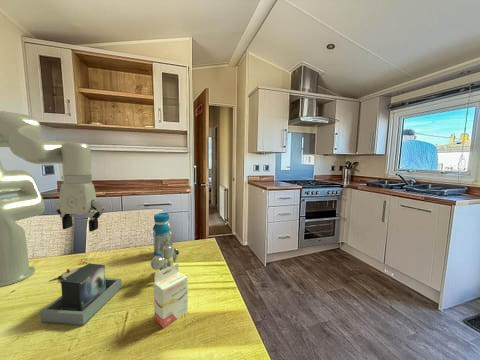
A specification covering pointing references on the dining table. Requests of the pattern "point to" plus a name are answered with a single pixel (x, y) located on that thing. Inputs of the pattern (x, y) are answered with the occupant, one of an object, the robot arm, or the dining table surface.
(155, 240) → the beverage bottle
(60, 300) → the tray
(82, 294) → the small box
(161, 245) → the robot toy
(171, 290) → the ink cartridge box
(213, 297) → the dining table surface
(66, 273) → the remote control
